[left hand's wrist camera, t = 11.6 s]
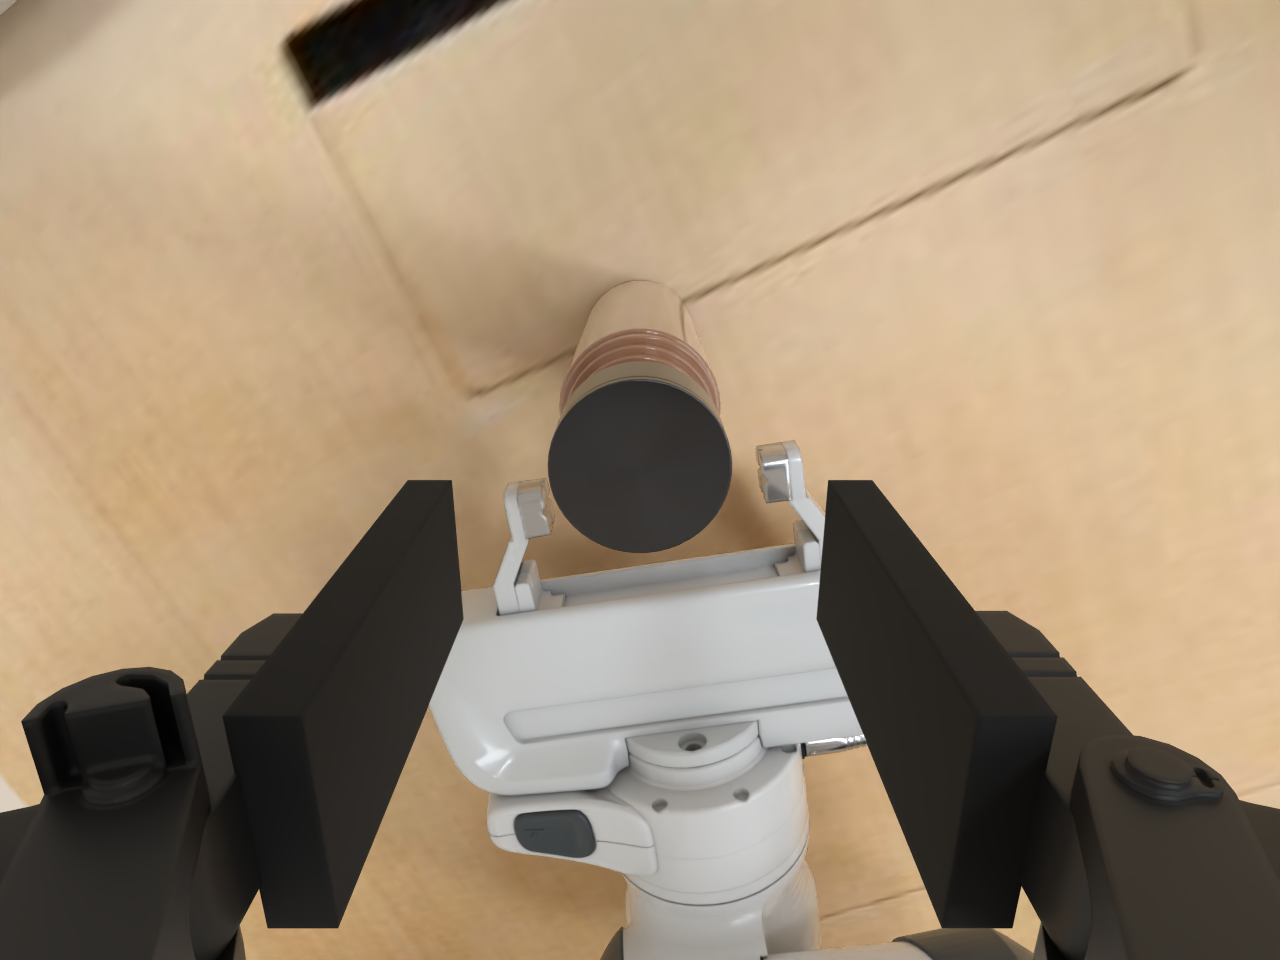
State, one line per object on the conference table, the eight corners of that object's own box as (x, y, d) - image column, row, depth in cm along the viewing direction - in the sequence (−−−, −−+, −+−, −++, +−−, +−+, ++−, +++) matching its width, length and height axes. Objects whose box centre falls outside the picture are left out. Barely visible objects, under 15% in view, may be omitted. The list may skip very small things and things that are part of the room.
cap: (633, 550, 21) (633, 585, 19) (521, 437, 20) (509, 463, 18) (757, 449, 20) (769, 476, 18) (646, 324, 19) (646, 339, 17)
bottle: (636, 409, 36) (632, 590, 20) (563, 331, 35) (498, 457, 19) (716, 339, 35) (781, 471, 19) (644, 256, 33) (647, 321, 18)
